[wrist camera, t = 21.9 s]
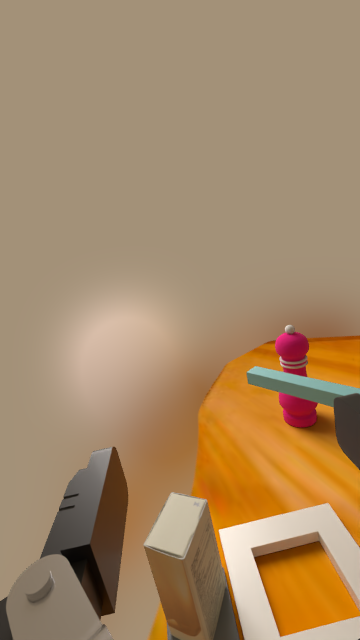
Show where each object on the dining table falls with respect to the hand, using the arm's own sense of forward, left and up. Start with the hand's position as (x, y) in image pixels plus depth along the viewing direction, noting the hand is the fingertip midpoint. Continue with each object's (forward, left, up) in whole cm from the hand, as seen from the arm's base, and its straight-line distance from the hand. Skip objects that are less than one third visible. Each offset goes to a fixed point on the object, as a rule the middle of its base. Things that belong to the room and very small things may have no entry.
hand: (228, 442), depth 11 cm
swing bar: (-26, -4, -14) cm, 30 cm away
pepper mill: (-45, -14, -31) cm, 56 cm away
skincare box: (-7, -13, -30) cm, 34 cm away
